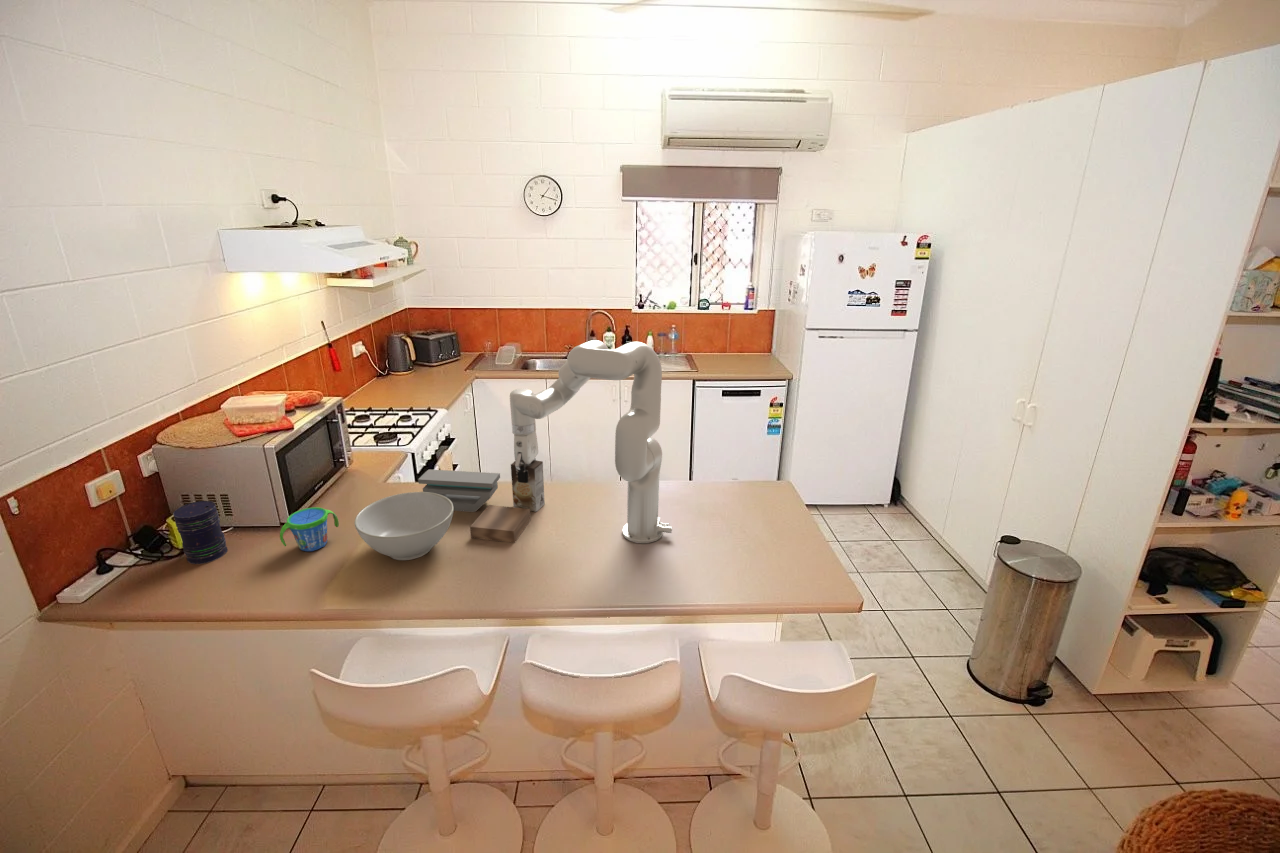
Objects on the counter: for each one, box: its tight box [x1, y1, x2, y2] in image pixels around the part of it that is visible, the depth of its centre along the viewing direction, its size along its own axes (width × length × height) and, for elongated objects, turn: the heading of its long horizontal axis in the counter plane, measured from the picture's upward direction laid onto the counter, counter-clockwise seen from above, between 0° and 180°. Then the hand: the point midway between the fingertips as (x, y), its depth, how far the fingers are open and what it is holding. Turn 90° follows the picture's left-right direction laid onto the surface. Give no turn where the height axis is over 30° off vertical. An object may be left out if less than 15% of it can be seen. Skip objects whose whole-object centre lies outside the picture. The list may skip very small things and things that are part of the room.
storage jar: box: [172, 500, 228, 565], centre depth 169 cm, size 10×10×15 cm
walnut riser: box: [469, 504, 532, 544], centre depth 186 cm, size 14×14×4 cm
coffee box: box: [510, 460, 546, 512], centre depth 198 cm, size 9×6×16 cm
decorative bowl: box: [353, 491, 454, 561], centre depth 173 cm, size 27×27×12 cm
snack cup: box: [279, 506, 340, 552], centre depth 174 cm, size 16×10×10 cm
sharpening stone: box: [417, 468, 501, 513], centre depth 199 cm, size 25×8×11 cm, turn 84°
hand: (527, 476), depth 197 cm, fingers closed on coffee box, 7 cm apart
